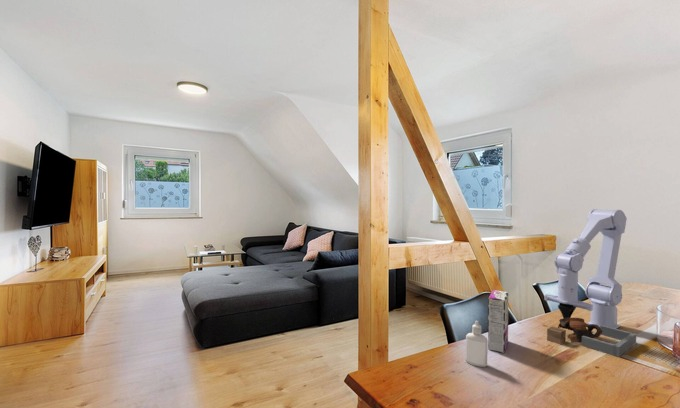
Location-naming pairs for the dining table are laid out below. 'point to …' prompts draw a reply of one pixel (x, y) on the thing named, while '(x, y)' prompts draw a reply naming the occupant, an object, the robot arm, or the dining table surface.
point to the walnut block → (556, 335)
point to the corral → (615, 350)
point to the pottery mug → (579, 329)
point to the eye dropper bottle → (476, 347)
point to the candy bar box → (498, 321)
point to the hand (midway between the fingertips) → (567, 325)
